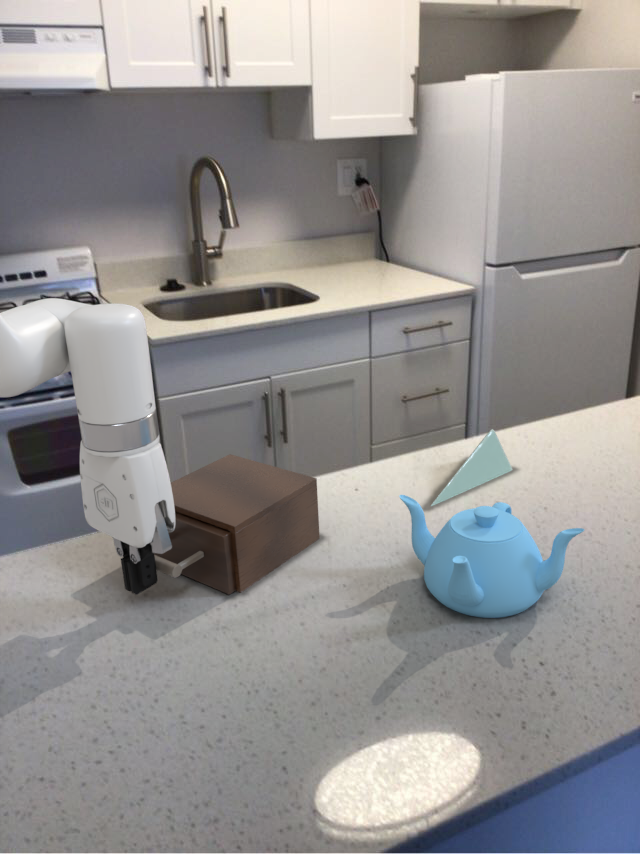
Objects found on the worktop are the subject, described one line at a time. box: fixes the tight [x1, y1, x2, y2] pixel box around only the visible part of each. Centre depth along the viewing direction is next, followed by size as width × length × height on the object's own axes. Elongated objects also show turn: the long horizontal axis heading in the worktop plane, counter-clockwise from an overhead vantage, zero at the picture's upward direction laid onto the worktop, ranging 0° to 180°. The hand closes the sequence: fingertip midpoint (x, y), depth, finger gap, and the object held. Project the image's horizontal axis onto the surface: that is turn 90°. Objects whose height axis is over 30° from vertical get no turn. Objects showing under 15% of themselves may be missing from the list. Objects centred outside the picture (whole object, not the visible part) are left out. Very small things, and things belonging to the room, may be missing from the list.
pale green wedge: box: [430, 428, 514, 507], centre depth 107 cm, size 8×6×18 cm
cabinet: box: [170, 453, 321, 594], centre depth 93 cm, size 15×15×9 cm
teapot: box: [398, 494, 585, 619], centre depth 82 cm, size 15×15×10 cm
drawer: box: [154, 511, 237, 595], centre depth 90 cm, size 18×13×7 cm
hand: (141, 586), depth 82 cm, fingers closed
